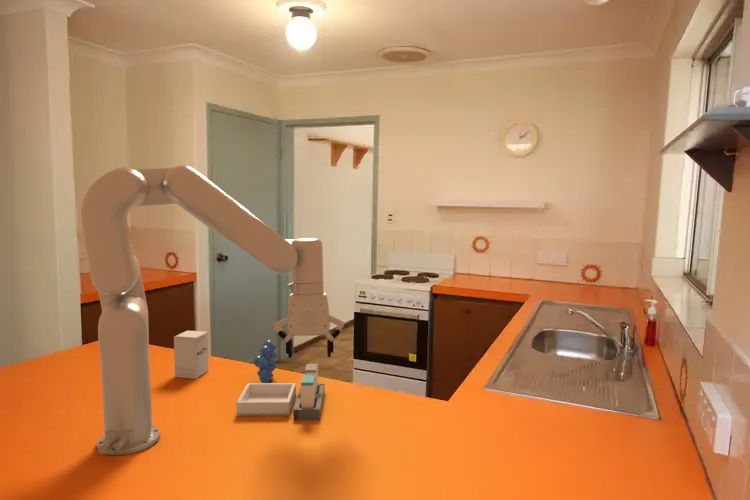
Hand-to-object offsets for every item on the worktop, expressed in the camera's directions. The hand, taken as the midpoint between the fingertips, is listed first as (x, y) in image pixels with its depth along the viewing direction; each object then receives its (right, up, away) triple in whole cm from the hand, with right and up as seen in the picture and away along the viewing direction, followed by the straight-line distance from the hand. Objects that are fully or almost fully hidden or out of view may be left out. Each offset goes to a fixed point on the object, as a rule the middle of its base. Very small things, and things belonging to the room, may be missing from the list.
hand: (310, 355), depth 129 cm
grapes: (-16, -12, +23) cm, 31 cm away
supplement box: (-39, -12, +28) cm, 50 cm away
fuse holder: (-1, -14, +6) cm, 15 cm away
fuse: (-1, -14, +10) cm, 17 cm away
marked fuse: (-1, -15, +1) cm, 15 cm away
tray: (-12, -14, +6) cm, 19 cm away
